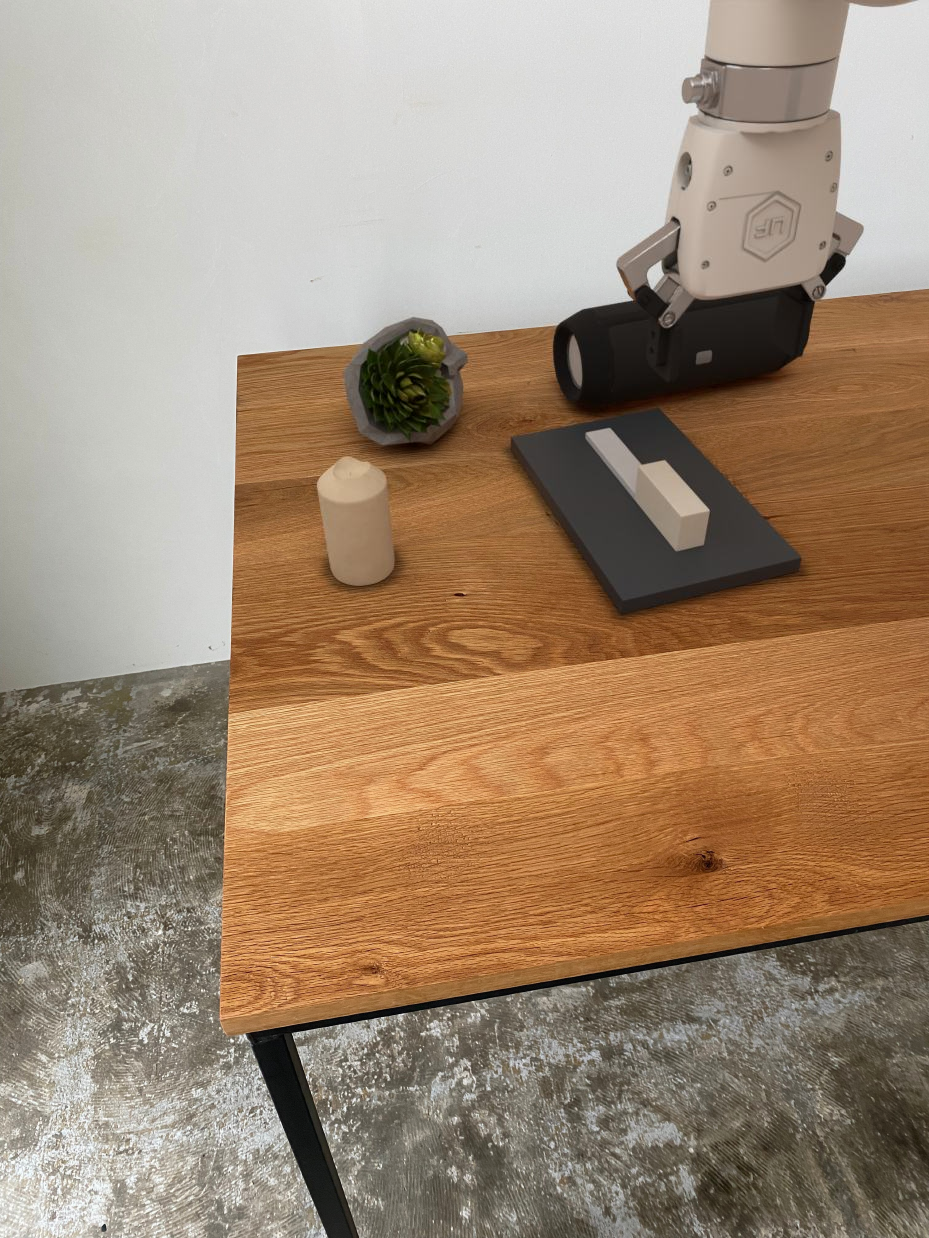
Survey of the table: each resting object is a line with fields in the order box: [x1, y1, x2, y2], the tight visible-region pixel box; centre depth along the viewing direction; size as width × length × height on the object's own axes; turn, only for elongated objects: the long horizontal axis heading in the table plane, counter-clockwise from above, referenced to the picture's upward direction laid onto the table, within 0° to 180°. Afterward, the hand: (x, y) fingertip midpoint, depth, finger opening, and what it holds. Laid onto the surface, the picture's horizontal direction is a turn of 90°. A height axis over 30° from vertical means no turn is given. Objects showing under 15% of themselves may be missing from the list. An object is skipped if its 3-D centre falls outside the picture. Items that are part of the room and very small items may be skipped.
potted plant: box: [342, 316, 469, 446], centre depth 91 cm, size 12×13×15 cm
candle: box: [316, 455, 396, 587], centre depth 76 cm, size 6×6×10 cm
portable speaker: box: [552, 288, 811, 408], centre depth 98 cm, size 26×10×10 cm, turn 108°
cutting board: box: [510, 407, 803, 615], centre depth 84 cm, size 16×26×2 cm, turn 18°
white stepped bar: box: [585, 428, 710, 551], centre depth 83 cm, size 19×3×4 cm, turn 18°
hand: (725, 361), depth 66 cm, fingers open, 9 cm apart
